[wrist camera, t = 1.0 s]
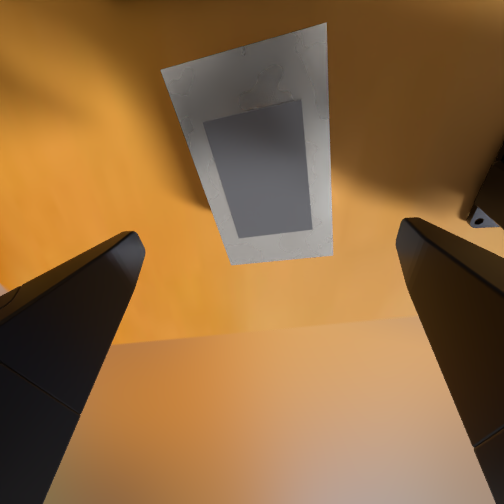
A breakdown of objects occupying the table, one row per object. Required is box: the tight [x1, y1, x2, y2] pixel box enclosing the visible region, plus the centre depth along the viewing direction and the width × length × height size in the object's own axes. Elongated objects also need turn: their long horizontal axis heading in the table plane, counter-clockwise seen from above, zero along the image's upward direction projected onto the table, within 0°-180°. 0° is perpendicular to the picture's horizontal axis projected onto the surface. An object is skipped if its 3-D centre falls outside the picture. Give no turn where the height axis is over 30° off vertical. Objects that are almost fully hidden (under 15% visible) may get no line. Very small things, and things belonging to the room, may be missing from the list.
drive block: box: [161, 22, 333, 265], centre depth 14 cm, size 6×10×5 cm, turn 12°
